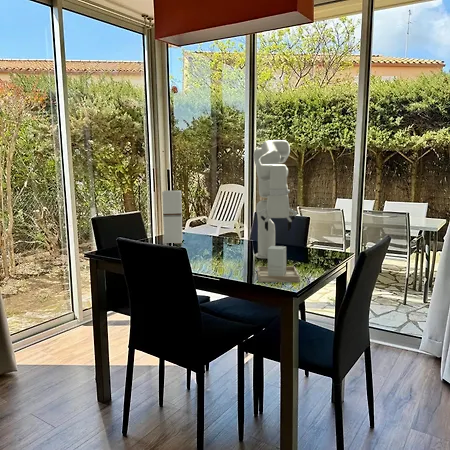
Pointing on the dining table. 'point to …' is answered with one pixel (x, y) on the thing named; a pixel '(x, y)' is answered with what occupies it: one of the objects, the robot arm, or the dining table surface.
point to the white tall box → (172, 217)
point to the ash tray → (288, 277)
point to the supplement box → (277, 260)
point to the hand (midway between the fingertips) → (277, 230)
